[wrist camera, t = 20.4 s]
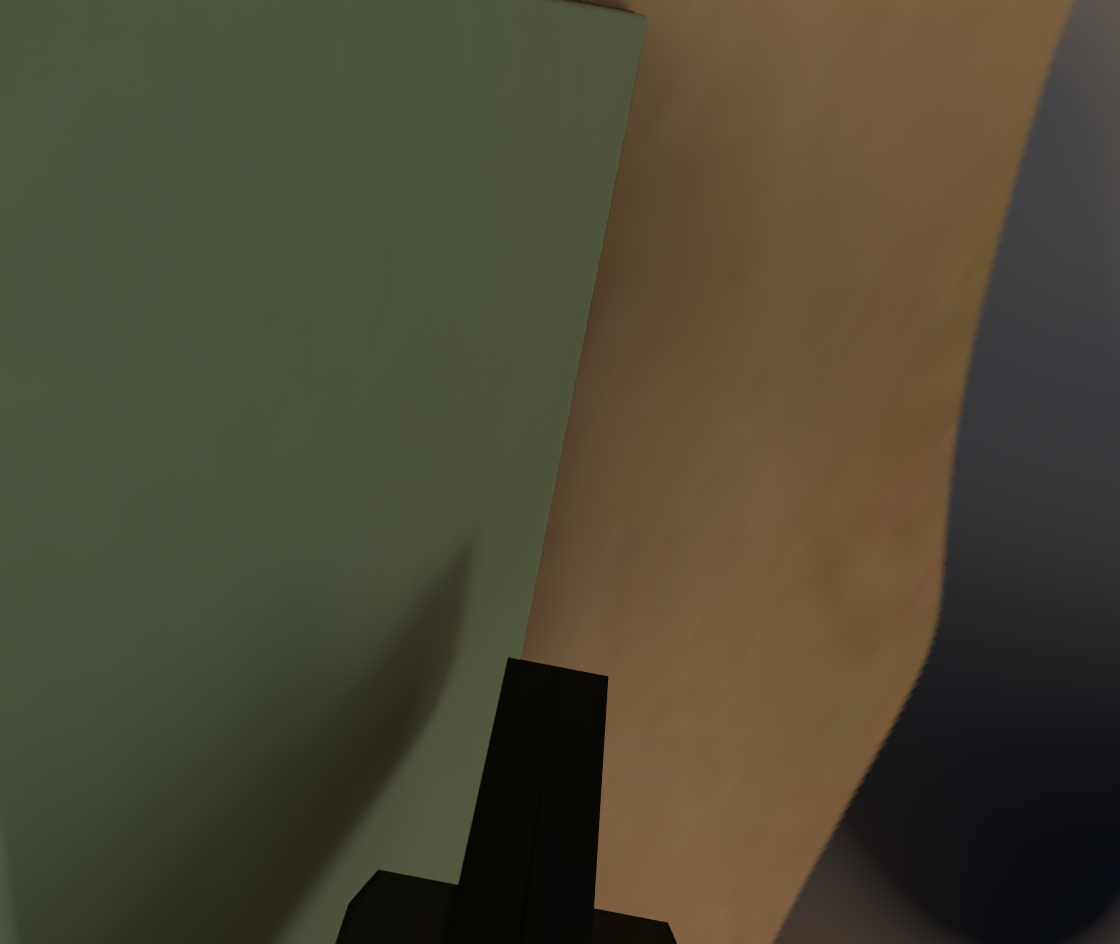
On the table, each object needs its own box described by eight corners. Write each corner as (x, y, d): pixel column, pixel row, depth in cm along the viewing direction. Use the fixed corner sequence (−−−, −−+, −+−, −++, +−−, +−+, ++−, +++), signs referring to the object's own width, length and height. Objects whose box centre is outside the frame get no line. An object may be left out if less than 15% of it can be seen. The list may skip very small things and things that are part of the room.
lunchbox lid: (69, 1608, 12) (108, 1631, 12) (-274, -149, 3) (-139, -120, 3) (468, 815, 25) (488, 823, 25) (615, 9, 16) (648, 16, 16)
